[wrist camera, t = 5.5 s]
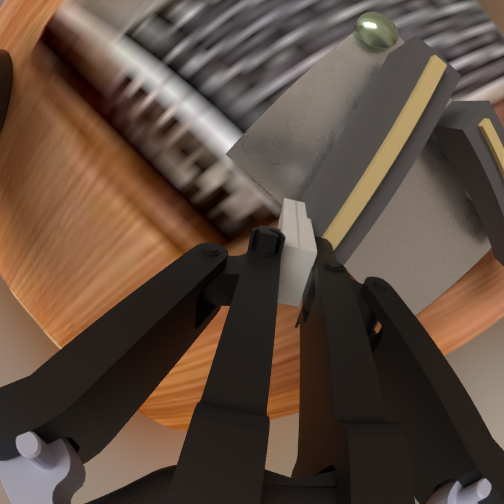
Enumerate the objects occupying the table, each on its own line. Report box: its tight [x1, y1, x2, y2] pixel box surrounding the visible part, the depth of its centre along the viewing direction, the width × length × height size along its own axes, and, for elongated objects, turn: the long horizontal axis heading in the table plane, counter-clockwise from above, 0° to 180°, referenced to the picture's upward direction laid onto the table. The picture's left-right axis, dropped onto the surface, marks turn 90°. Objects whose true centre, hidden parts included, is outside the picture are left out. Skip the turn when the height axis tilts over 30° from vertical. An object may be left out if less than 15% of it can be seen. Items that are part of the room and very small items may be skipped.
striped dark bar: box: [300, 36, 461, 266], centre depth 14 cm, size 3×14×6 cm, turn 152°
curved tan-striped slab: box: [432, 101, 504, 266], centre depth 13 cm, size 3×14×6 cm, turn 47°
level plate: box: [226, 12, 492, 315], centre depth 17 cm, size 22×16×2 cm
